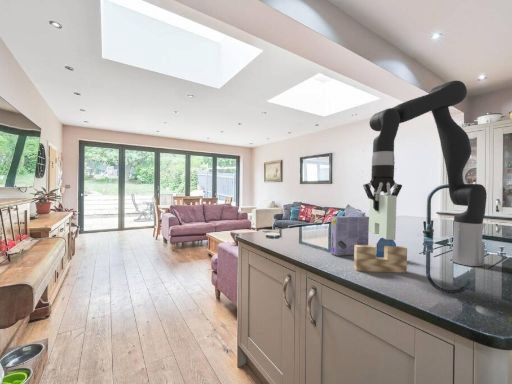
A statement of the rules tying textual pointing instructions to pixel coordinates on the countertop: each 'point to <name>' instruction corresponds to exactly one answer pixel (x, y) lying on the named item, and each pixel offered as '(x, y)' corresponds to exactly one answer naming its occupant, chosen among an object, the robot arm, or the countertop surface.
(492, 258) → the countertop surface
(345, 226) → the cake pan box
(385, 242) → the perfume bottle
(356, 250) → the oak u-shaped block
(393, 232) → the sage board
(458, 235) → the robot arm
